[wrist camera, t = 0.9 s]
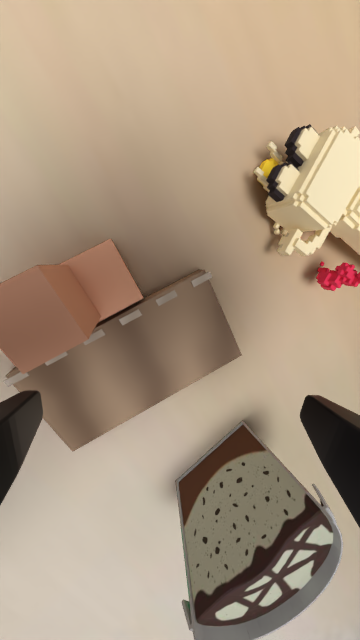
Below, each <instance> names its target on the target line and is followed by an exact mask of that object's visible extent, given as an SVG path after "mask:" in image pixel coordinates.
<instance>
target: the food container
mask: <svg viewBox="0 0 360 640" xmlns="http://www.w3.org/2000/svg"><path fill="white" fill-rule="evenodd" d="M312 486H313V487H314V489H315V491H316V493H317V494H318V496H319V498H320V501H321V505H320V504H319V503H318V502H317V500H316V499H315V498H314V497H313V496H312V495H311V494H310V493H309V492H308V491H307V490H306V489H305V487H304V486H303V485H302V484H301V483H300V482H299V481H298V480H297V479H296V478H295V477H294V476H293V474H292V473H291V472H290V471H289V470H288V469H287V468H286V467H285V466H284V465H283V464H282V463H281V461H280V460H279V459H278V458H277V457H276V456H275V455H274V454H273V453H272V452H271V451H270V450H269V448H268V447H267V446H266V445H265V444H264V443H263V442H262V441H261V440H260V439H259V438H258V437H257V435H256V434H255V433H254V432H253V431H252V430H251V429H250V428H249V427H248V426H247V425H246V423H245V422H244V421H242V422H240V423H239V424H238V425H237V426H236V427H235V428H234V429H233V430H232V431H230V432H229V433H228V434H227V435H226V436H225V437H224V438H223V439H222V440H220V441H219V442H218V443H217V444H216V445H215V446H214V447H213V448H212V449H210V450H209V451H208V452H207V453H206V454H205V455H204V456H203V457H202V458H200V459H199V460H198V461H197V462H196V463H195V464H194V465H193V466H192V467H190V468H189V469H188V470H187V471H186V472H185V473H184V474H183V475H182V476H180V477H179V478H178V479H177V480H176V488H177V497H178V506H179V514H180V523H181V532H182V541H183V550H184V558H185V567H186V576H187V585H188V593H189V601H186V600H183V601H182V605H183V609H184V612H185V616H186V620H187V623H188V627H189V630H190V631H193V635H194V640H256V639H259V638H262V637H264V636H266V635H268V634H270V633H272V632H274V631H276V630H278V629H279V628H281V627H283V626H284V625H286V624H288V623H289V622H290V621H292V620H293V619H295V618H296V617H297V616H299V615H300V614H301V613H302V612H304V611H305V610H306V609H307V608H308V607H309V606H310V605H311V604H312V603H313V602H314V601H315V600H316V599H317V598H318V597H319V596H320V595H321V593H322V592H323V591H324V590H325V588H326V587H327V586H328V584H329V583H330V581H331V580H332V578H333V576H334V574H335V573H336V570H337V568H338V566H339V563H340V560H341V556H342V549H343V542H342V535H341V533H340V530H339V528H338V526H337V524H336V520H335V518H334V515H333V513H332V512H331V510H330V508H329V507H328V505H327V503H326V501H325V500H324V498H323V496H322V495H321V493H320V491H319V490H318V488H317V487H316V486H315V484H312Z"/></svg>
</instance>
